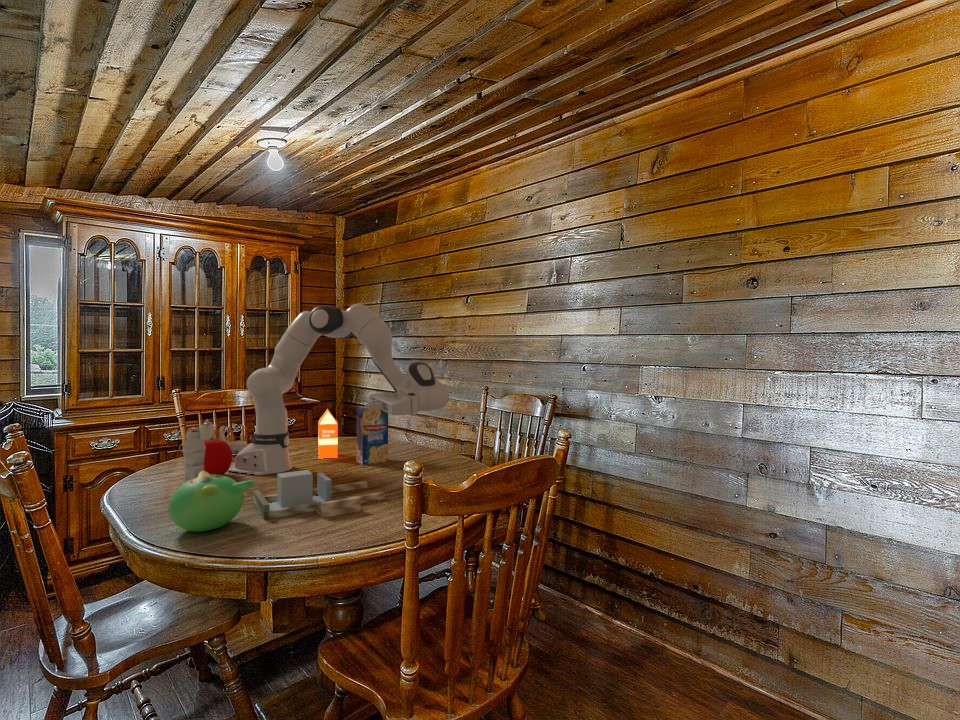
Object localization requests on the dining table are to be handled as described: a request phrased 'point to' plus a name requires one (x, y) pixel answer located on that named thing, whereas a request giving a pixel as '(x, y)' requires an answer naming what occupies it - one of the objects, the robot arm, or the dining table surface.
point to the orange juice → (327, 436)
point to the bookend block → (300, 489)
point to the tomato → (217, 456)
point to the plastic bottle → (193, 455)
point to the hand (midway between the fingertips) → (366, 406)
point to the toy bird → (207, 502)
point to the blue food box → (372, 436)
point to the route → (317, 503)
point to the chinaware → (209, 432)
